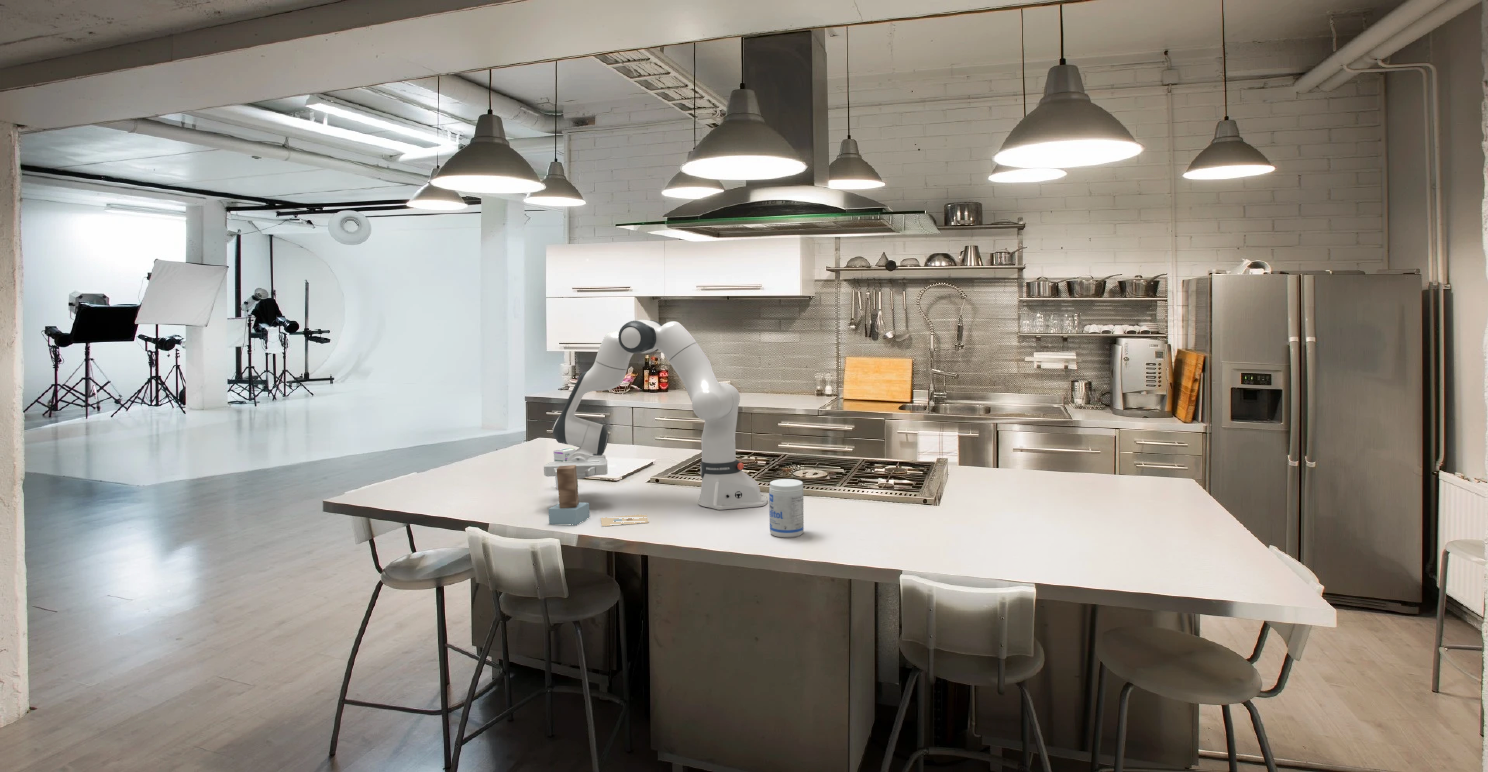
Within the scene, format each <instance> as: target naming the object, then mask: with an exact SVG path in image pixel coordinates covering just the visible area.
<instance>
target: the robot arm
mask: <svg viewBox="0 0 1488 772" xmlns="http://www.w3.org/2000/svg"><path fill="white" fill-rule="evenodd" d="M600 343H601V344H600V345H599V347H598V348H599V349H598V351H597V354H596V357H595V360H594V363H593V364H592V366H591V368H590V369H589V370H588V371H583V372H582V373H581V374H580V375H579V377H578V378H577V380H576V382H575V384H574V386H573V388H572V390H571V393H570V394H569V396H568V398H567V401H566V402H565V405H564V406H563V408H562V411H561V412H560V415H559V416H558V418H557V419H556V421H555V423H554V425H553V428H552V436H553V437H554V439H555V440H556V442H557V443H558V444H563V445H569V446H573V447H577V449H576V451H575V452H574V453H573V454H572V455H571V456H570V457H569V458H568V459H567V461H563V462H554V461H551V462H547V463H546V464H545V465H543V475H544V476H545V477H557V468H558V467H559V466H568V465H576V472H577V479H578V480H582V479H585V478H589V477H593V476H606V475H608V460H607V458H606V457H607V456H606V455H605V454H604V453H605V451H606V448H607V447H608V446H607V445H608V442H609V432H608V429H607V427H606V425H604V424H601V423H598V422H595V421H591V420H588V419H584V418H580V417H577V416H576V412H577V409H578V408H579V405H580V403H581V401H582V399H583V397H584V396H585V395H586V394H587V393H590V392H599V391H600V392H601V391H609V390H613V389H615V388H617V387H619V386H621V384H622V383H623V381H624V380H625V377H626V374H627V371H628V368H629V365H630V360H631V358H632V357H633V355H634V354H635V355H636V354H650V353H653V352H657V351H660V352H661V353H662V354H663V355H664V356H665V358H666V359H667V361H668V363H669V364H670V365H671V367H672V368H673V370H674V371H675V373H676V374H677V376H678V377H679V378H680V380H681V382H682V384H683V385H684V388H685V390H686V393H687V395H688V397H689V399H690V401H691V407H692V411H693V414H694V415H696V417H697V418H699V419H701V420H703V421H704V425H703V429H702V433H701V437H700V438H701V441H700V443H701V461H700V478H701V485H700V486H701V487H700V494H699V498H698V499H699V500H698V502H697V503H698V505H700V506H701V507H706V508H710V509H714V510H719V511H720V510H721V511H722V510H733V509H747V508H758V507H763V506H766V505H767V504H768V499H767V498H768V497H767V496H766V495H764V494H762V493H761V489H760V485H759V483H758V482H757V481H756V480H755V479H754V478H753V477H751V476H750V475H749V474H747V473H746V472H744V471H743V469H744V468H745V465H744V463H743V462H742V461H741V460H739V459H737V458H736V453H737V452H736V432H737V431H736V430H737V423H738V415H739V414H738V413H739V405H740V401H741V395H740V392H739V390H738V389H737V388H736V387H735V386H734V385H733V384H730V383H727V382H719V381H718V379H717V377H716V374H715V373H714V370H713V368H712V364H711V361H710V359H709V358H708V356H707V355H706V354H705V352H704V351H703V349H702V347H701V346H700V345H699V343H698V342H697V340H696V339H695V338H694V337H693V335H691V333H690V332H689V330H687V329H686V327H684V326H683V324H681V323H680V322H678V321H673V320H672V321H667V322H666V323H664V324H662V323H661V322H659V321H656V320H652V319H636V320H630V321H628V322H626V323H624V324H623V325H622V327H620V330H619V331H610V332H607V334H605V336H604V337H603V339H602V341H601V342H600Z"/></svg>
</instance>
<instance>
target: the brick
mask: <svg viewBox="0 0 1488 772" xmlns="http://www.w3.org/2000/svg"><path fill="white" fill-rule="evenodd" d="M547 509H548V525H555V524H571V525H570V526H575V525H576V526H578V525H580V524H581V523H580V522H582V521H583V522H586V521H587V520H588V519H587V518H589V517H590V518H591V516H590V503H589V502H580V501H579V504H578V505H577V507H572V508H560V506H559V503H557V504H555V505H554V506H551V507H549V508H547ZM590 518H589V519H590ZM586 519H587V520H586ZM583 522H582V523H583ZM579 523H580V524H579ZM572 524H573V525H572ZM577 524H578V525H577Z"/></svg>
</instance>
